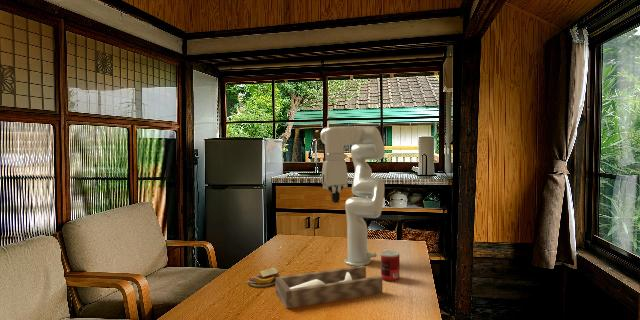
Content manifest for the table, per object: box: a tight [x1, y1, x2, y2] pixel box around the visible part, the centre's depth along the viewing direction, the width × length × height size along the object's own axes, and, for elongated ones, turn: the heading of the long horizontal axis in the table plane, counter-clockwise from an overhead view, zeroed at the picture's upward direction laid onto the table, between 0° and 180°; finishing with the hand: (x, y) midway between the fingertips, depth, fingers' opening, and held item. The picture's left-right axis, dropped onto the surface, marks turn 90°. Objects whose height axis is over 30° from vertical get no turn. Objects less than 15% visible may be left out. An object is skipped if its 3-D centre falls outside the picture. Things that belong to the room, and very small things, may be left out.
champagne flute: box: [290, 272, 352, 289], centre depth 148 cm, size 7×7×24 cm
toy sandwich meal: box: [246, 267, 281, 288], centre depth 164 cm, size 12×14×5 cm
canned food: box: [380, 250, 401, 283], centre depth 166 cm, size 8×8×11 cm
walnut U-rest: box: [274, 265, 383, 310], centre depth 152 cm, size 38×16×6 cm, turn 110°
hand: (335, 202), depth 162 cm, fingers closed
